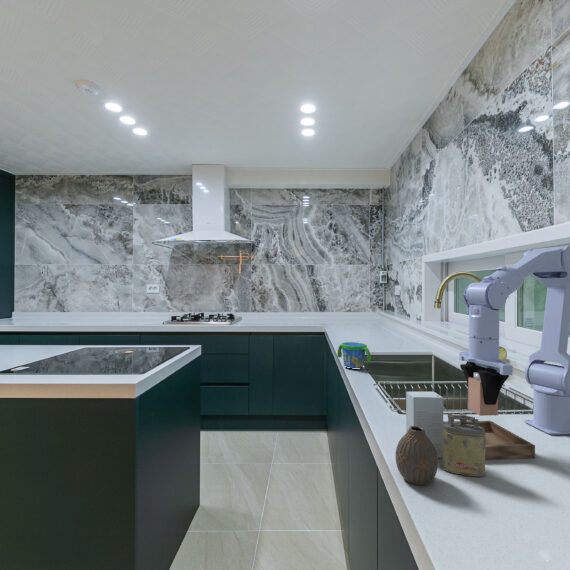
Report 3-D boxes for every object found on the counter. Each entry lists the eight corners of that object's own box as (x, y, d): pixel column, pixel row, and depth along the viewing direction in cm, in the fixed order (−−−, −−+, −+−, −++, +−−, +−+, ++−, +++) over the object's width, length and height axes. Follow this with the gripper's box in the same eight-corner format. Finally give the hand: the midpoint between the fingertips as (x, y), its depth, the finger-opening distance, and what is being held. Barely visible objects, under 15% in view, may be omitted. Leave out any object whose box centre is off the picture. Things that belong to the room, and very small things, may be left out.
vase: (390, 468, 64) (391, 420, 64) (428, 469, 64) (429, 421, 64) (402, 489, 57) (402, 436, 57) (444, 491, 57) (445, 437, 57)
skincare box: (433, 448, 72) (434, 391, 72) (443, 458, 68) (444, 397, 68) (404, 448, 72) (405, 390, 72) (413, 458, 68) (413, 397, 68)
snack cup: (376, 370, 143) (376, 345, 143) (359, 373, 137) (359, 347, 137) (348, 363, 155) (348, 340, 156) (331, 366, 149) (331, 342, 149)
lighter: (482, 469, 64) (483, 415, 64) (488, 480, 61) (489, 422, 61) (440, 463, 66) (441, 410, 66) (444, 473, 63) (444, 417, 63)
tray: (490, 431, 82) (490, 420, 82) (534, 458, 69) (535, 445, 69) (437, 432, 81) (437, 421, 81) (473, 459, 68) (473, 446, 68)
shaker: (485, 408, 77) (485, 371, 77) (497, 415, 73) (498, 376, 73) (468, 409, 77) (468, 371, 77) (479, 415, 73) (480, 376, 73)
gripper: (447, 333, 82) (446, 390, 82) (489, 342, 68) (488, 412, 67) (475, 333, 83) (474, 390, 83) (522, 342, 68) (522, 412, 68)
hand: (482, 400), depth 75 cm, fingers closed on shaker, 4 cm apart
